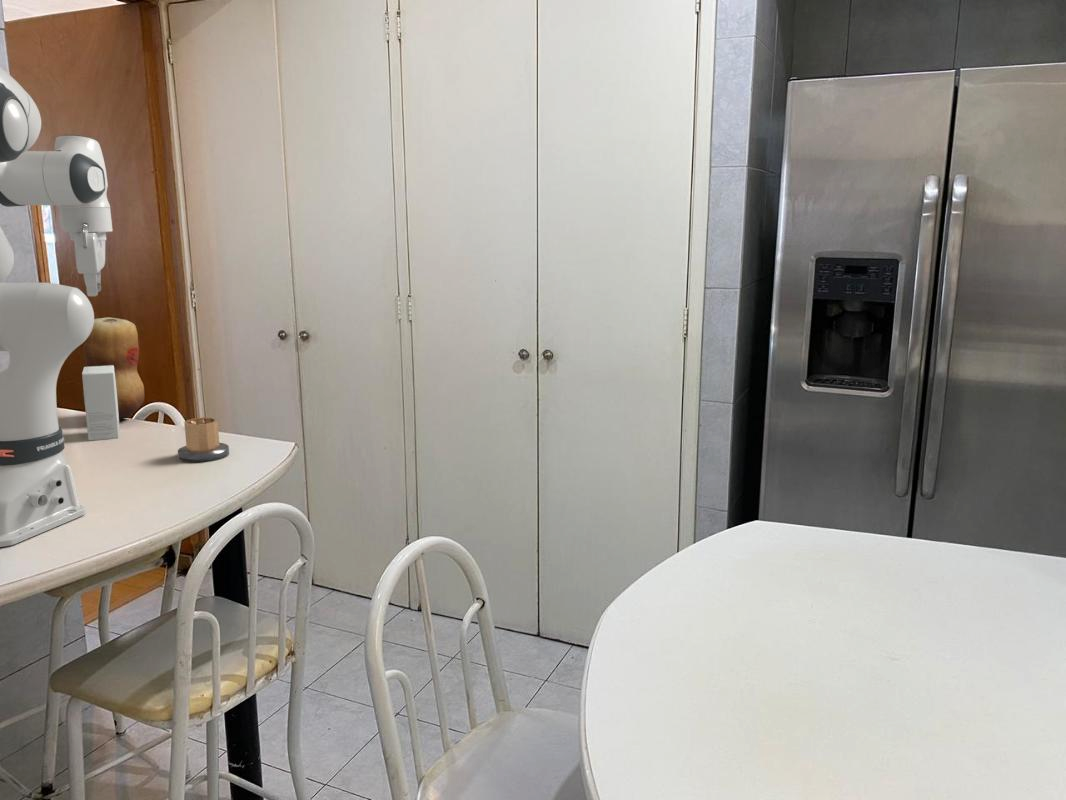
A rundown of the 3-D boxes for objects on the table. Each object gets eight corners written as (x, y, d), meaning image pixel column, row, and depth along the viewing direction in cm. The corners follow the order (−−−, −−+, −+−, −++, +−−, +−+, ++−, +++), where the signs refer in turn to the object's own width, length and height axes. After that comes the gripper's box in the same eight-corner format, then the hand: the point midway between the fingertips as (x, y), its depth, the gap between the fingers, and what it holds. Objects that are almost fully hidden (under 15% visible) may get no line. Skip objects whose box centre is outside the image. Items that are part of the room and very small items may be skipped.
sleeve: (220, 451, 171) (218, 423, 170) (187, 454, 169) (184, 426, 167) (218, 443, 177) (216, 416, 176) (186, 446, 174) (184, 419, 173)
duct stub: (215, 463, 168) (212, 432, 166) (168, 461, 169) (165, 431, 167) (237, 449, 178) (235, 420, 176) (193, 448, 179) (191, 419, 177)
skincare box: (90, 432, 190) (82, 366, 187) (121, 429, 193) (114, 364, 189) (88, 441, 183) (80, 373, 179) (121, 438, 186) (113, 370, 182)
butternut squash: (128, 427, 195) (117, 322, 189) (74, 426, 196) (61, 321, 190) (157, 413, 209) (148, 315, 203) (106, 412, 209) (95, 314, 204)
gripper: (101, 223, 152) (109, 298, 156) (107, 222, 171) (114, 288, 174) (62, 223, 150) (71, 299, 153) (73, 222, 168) (81, 289, 171)
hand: (94, 293), depth 164 cm, fingers open, 8 cm apart
